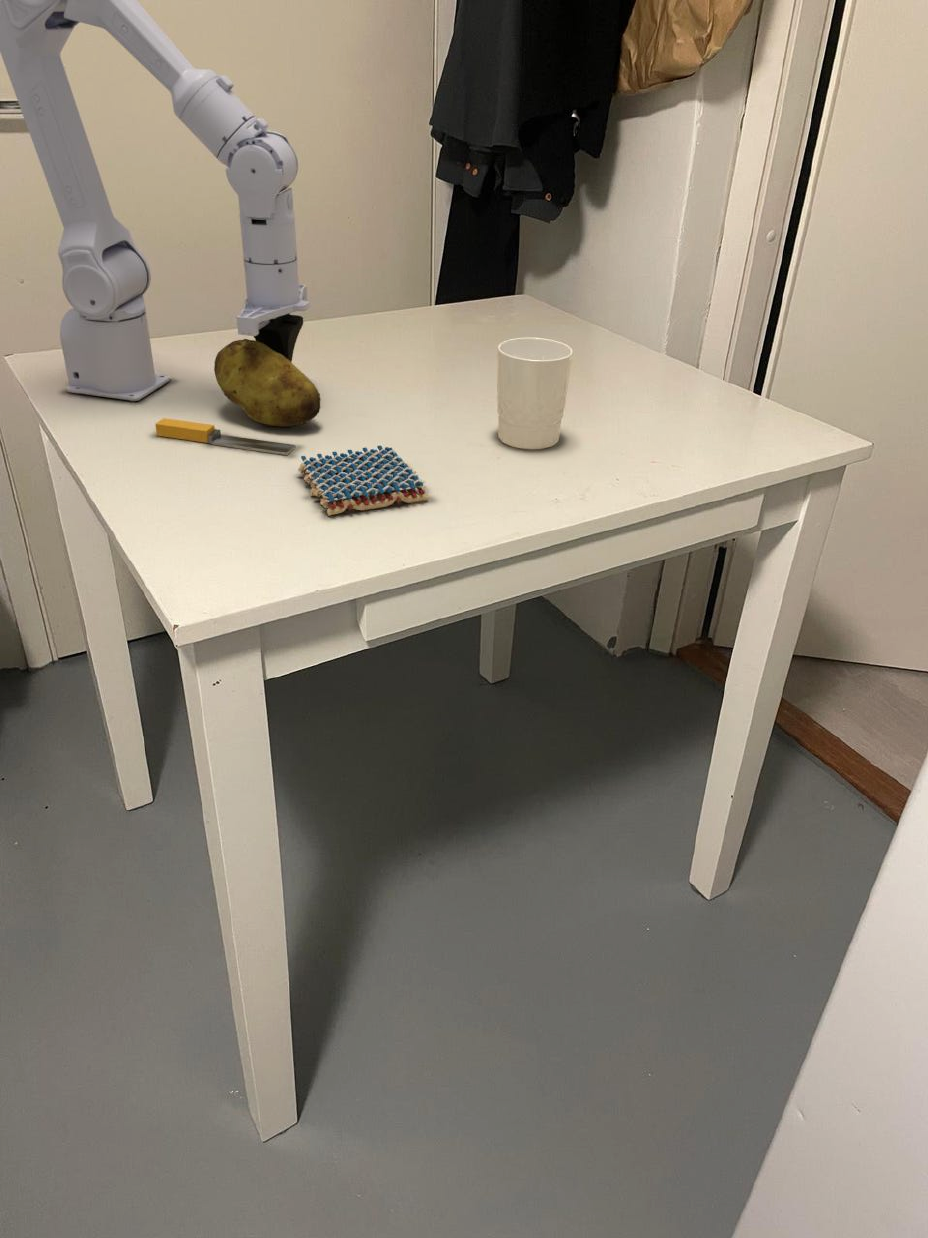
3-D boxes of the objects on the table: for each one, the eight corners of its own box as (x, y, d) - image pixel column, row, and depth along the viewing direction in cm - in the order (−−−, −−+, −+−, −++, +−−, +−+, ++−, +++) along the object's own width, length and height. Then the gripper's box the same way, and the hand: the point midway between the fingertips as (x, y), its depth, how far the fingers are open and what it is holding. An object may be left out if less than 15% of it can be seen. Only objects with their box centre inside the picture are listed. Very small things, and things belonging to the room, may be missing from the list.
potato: (264, 446, 102) (250, 373, 97) (213, 409, 111) (198, 341, 106) (331, 423, 106) (321, 353, 101) (277, 390, 114) (266, 323, 110)
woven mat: (326, 520, 88) (325, 500, 87) (295, 473, 96) (294, 455, 95) (431, 503, 92) (432, 483, 91) (393, 460, 100) (393, 441, 99)
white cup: (571, 431, 108) (580, 343, 103) (553, 457, 102) (562, 364, 97) (504, 420, 110) (510, 333, 105) (483, 445, 104) (488, 354, 99)
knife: (155, 436, 103) (153, 424, 102) (166, 429, 105) (164, 416, 104) (287, 455, 100) (286, 442, 99) (295, 447, 102) (294, 435, 101)
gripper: (277, 277, 97) (286, 405, 105) (329, 247, 109) (334, 364, 117) (213, 271, 99) (227, 398, 106) (271, 242, 111) (280, 358, 118)
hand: (279, 380), depth 111 cm, fingers closed
